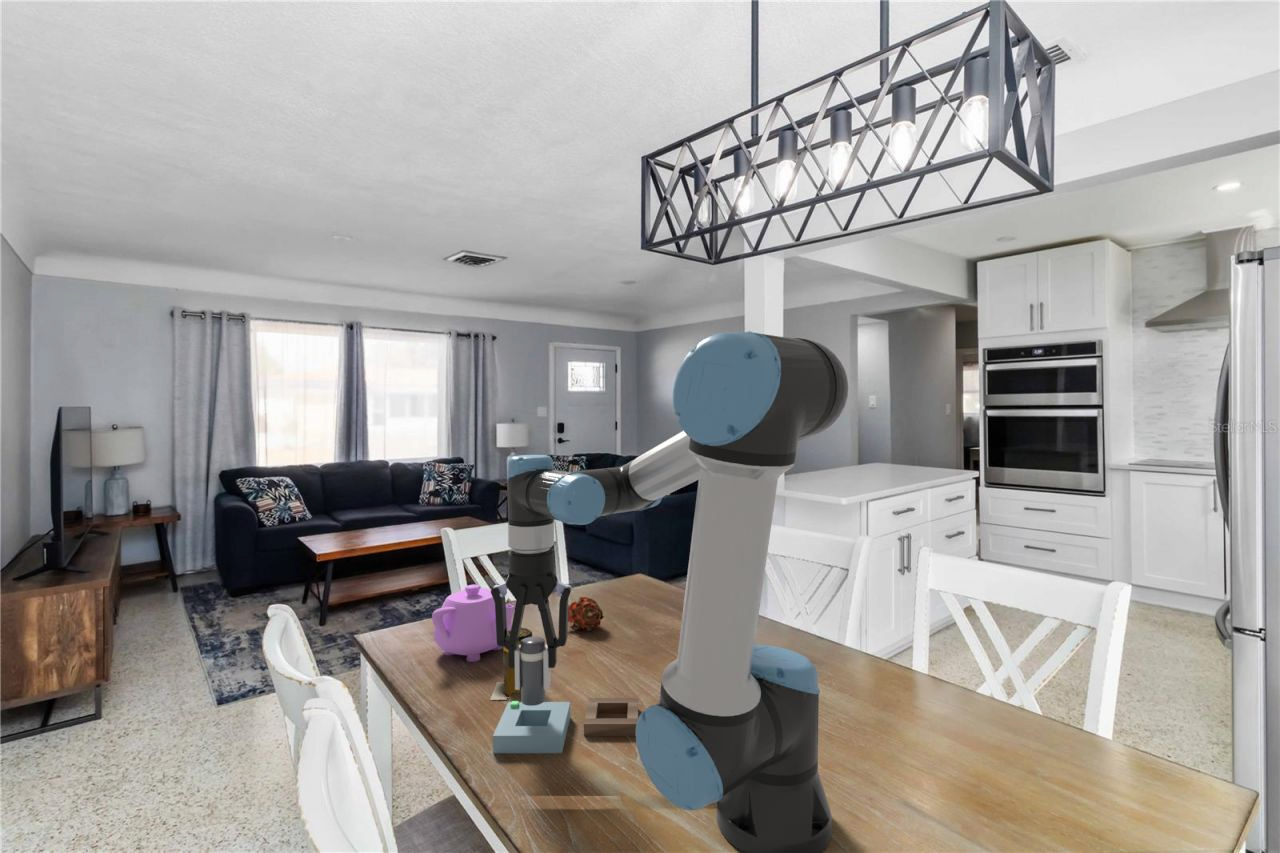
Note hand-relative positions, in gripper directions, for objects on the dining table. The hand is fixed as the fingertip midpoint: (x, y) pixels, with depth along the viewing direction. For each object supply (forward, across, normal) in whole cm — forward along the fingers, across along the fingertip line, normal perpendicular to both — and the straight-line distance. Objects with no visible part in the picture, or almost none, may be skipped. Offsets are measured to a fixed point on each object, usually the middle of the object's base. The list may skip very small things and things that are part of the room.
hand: (533, 685), depth 102 cm
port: (+10, 0, 0) cm, 10 cm away
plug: (+2, 0, 0) cm, 2 cm away
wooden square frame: (+9, -13, -4) cm, 17 cm away
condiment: (+10, +7, -18) cm, 22 cm away
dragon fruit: (+10, -3, -52) cm, 53 cm away
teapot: (+10, +20, -36) cm, 42 cm away
